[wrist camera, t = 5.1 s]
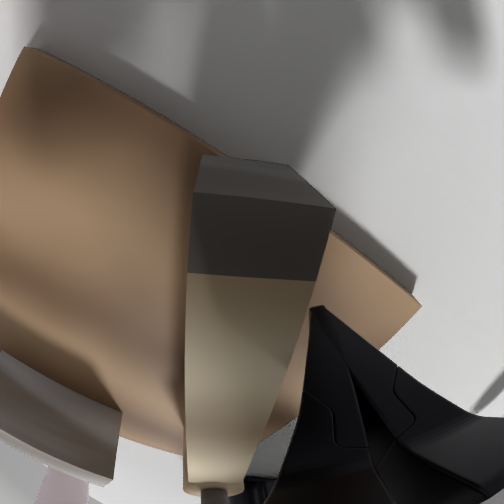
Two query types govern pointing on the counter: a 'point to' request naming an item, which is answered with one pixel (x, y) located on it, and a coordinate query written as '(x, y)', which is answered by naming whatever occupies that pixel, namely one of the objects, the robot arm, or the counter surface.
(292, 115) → the counter surface
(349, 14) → the counter surface
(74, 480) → the smoothie
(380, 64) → the counter surface
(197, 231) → the leg
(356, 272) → the seat
